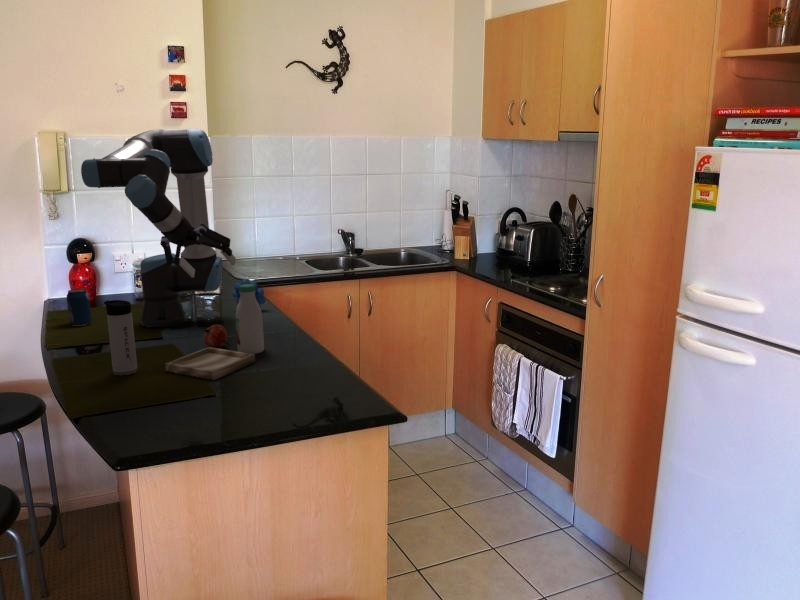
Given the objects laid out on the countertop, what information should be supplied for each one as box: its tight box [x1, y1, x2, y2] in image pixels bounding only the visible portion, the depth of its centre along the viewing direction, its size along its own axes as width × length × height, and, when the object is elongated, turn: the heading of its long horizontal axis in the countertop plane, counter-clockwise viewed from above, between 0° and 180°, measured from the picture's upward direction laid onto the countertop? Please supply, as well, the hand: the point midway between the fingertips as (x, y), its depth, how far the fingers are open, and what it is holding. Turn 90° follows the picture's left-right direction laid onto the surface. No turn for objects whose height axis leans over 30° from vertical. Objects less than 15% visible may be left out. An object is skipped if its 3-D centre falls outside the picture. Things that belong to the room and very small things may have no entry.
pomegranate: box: [203, 324, 230, 349], centre depth 215 cm, size 7×7×10 cm
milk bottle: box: [235, 284, 265, 355], centre depth 209 cm, size 8×8×20 cm
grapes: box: [231, 278, 266, 308], centre depth 257 cm, size 12×7×12 cm, turn 94°
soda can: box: [66, 288, 93, 326], centre depth 243 cm, size 7×7×12 cm
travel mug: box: [103, 299, 139, 376], centre depth 192 cm, size 6×7×20 cm
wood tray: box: [164, 346, 256, 381], centre depth 198 cm, size 17×17×2 cm
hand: (213, 267), depth 210 cm, fingers open, 13 cm apart
